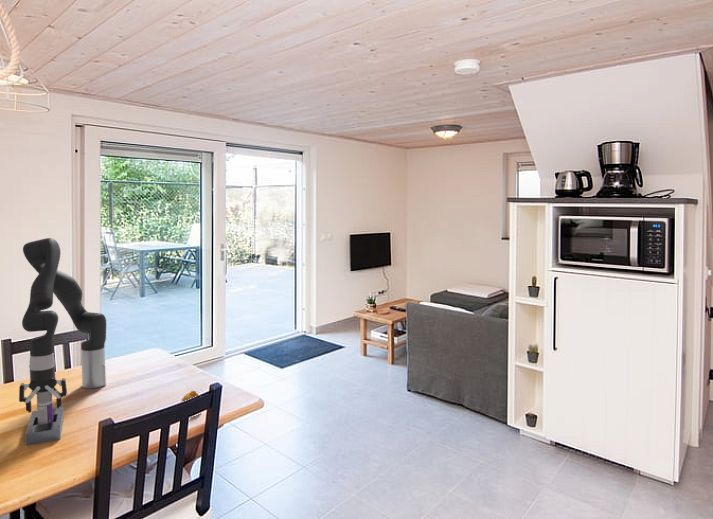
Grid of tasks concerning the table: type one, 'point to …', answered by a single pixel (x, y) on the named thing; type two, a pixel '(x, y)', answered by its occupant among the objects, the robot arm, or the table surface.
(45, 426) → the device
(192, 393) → the fruit
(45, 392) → the container
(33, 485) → the table surface
